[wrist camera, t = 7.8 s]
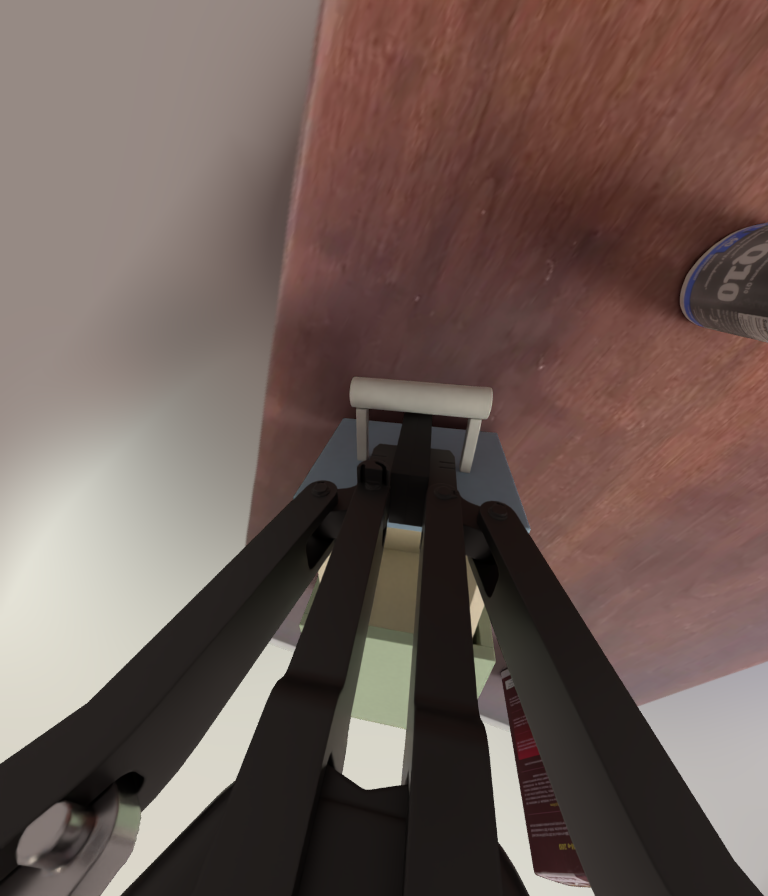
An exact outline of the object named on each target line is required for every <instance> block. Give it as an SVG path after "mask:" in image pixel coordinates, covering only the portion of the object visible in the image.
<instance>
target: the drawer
mask: <svg viewBox="0 0 768 896" xmlns="http://www.w3.org/2000/svg"><path fill="white" fill-rule="evenodd" d="M492 399H493V392H492V388H490V387H480V386H467V385H455V384H442V383H430V382H417V381H405V380H392V379H380V378H367V377H353V379H352V381H351V385H350V404H351V406H352V407H357V408H356V419H348V418H343V420H342V421H341V423H340V424H339V426H338V427H337V429H336V431H335V432H334V434H333V435H332V437H331V438H330V440H329V442H328V443H327V445H326V446H325V448H324V450H323V451H322V453H321V454H320V456H319V457H318V459H317V461H316V462H315V464H314V465H313V467H312V468H311V470H310V472H309V473H308V475H307V476H306V478H305V479H304V481H303V483H302V484H301V486H300V487H299V489H298V491H297V492H296V494H295V495H294V497H293V499H294V498H295V497H296V496H297V495H298V494H299V493H300V492H301V491H302V490H303V489H304V488H305V487H306V486H308V485H309V484H311V483H313V482H315V481H320V480H326V481H331V482H333V483H334V484H335V485H336V486H337V489H341V488H349V487H353V486H355V485H357V466H358V465H359V463H361V462H363V461H365V460H370V458H371V456H372V452H373V449H374V448H375V447H376V446H377V445H378V444H389V445H397V444H398V439H399V435H400V431H401V427H402V424H400V423H389V422H379V421H369V409H379V410H390V411H401V412H412V413H422V414H433V415H444V416H455V417H465V418H468V423H467V428H466V430H461V429H451V428H440V427H432V434H431V448H433V449H442V450H450V451H451V452H452V454H453V455H454V456H455V466H456V479H457V490H458V491H459V493H460V495H461V497H462V498H463V499H465V500H466V501H468V502H470V503H473V504H475V505H478V506H481V504H483V503H484V502H486V501H499V502H502V503H505V504H506V505H508V506H509V507H511V508H512V509H513V510H514V511H515V513H516V514H517V516H518V517H519V519H520V520H521V522H522V524H523V525H524V527H525V528H526V530H527V532H528V533H529V532H530V526H529V523H528V520H527V517H526V515H525V512H524V509H523V506H522V503H521V500H520V497H519V495H518V492H517V489H516V486H515V483H514V480H513V477H512V475H511V472H510V469H509V466H508V463H507V460H506V457H505V455H504V452H503V449H502V446H501V443H500V440H499V437H498V434H497V433H492V432H481V431H479V430H480V426H481V422H482V420H481V419H487V418H488V416H489V414H490V411H491V407H492ZM421 532H422V527H417V526H410V525H403V524H396V523H387V534H386V539H385V544H384V549H383V555H382V560H381V565H380V570H379V575H378V580H377V585H376V590H375V596H374V601H373V606H372V611H371V616H370V621H369V626H374V627H380V628H385V629H391V630H396V631H402V632H407V633H413V634H414V621H415V608H416V594H417V581H418V568H419V554H420V549H419V546H420V539H421ZM330 555H331V553H330ZM330 555H329V556H328V558H327V559H326V560H325V562H324V563H323V565H322V566H321V568H320V569H319V571H318V575H319V582H321V579H322V576H323V574H324V571H325V568H326V565H327V563H328V560H329V557H330ZM466 566H467V578H468V590H469V602H470V614H471V627H472V638H473V635H474V632H475V630H476V627H477V624H478V621H479V619H480V616H481V613H482V610H483V608H484V602H483V600H482V597H481V594H480V591H479V589H478V586H477V583H476V581H475V578H474V575H473V573H472V570H471V567H470V564H469V562H468V558H467V556H466Z"/></svg>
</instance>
